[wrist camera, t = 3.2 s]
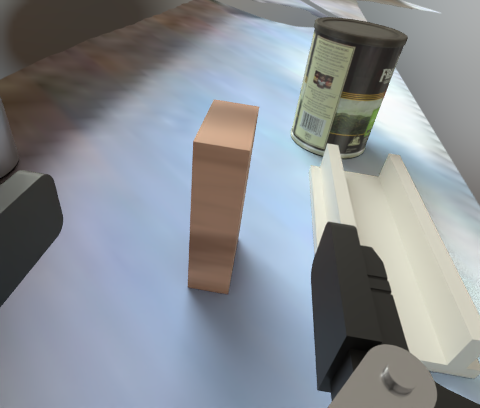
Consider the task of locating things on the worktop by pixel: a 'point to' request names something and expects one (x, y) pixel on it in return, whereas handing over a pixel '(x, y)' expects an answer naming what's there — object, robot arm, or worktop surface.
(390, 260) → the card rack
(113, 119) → the worktop surface
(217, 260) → the wooden card
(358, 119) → the coffee can
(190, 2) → the worktop surface
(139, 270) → the worktop surface
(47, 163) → the worktop surface
